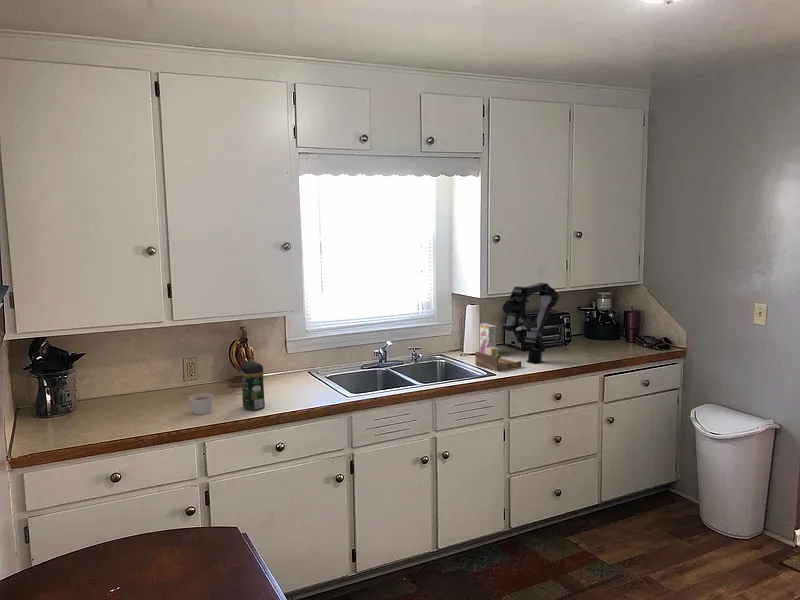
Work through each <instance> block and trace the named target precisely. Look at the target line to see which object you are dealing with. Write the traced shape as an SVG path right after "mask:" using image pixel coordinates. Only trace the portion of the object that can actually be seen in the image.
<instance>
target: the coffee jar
mask: <svg viewBox="0 0 800 600" xmlns="http://www.w3.org/2000/svg"><path fill="white" fill-rule="evenodd" d="M240 374H241V388H242V406H243V407H244V409H245V410H247V411H259V410H261V409H264V408H265V407H266V406H265V403H266V402H265V391H264V389H265V388H264V387H265V385H264V366H263V365H262V364H261V363H258V362H256V361H254V360H249V361H244V362H243V363H242V364H241V369H240Z"/></svg>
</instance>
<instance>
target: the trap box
mask: <svg viewBox="0 0 800 600" xmlns="http://www.w3.org/2000/svg"><path fill="white" fill-rule="evenodd" d="M475 365H477V366H476V367H479V366H480V367H479V368H482V367H483V368H482V369H486V368H487V370H489V369H490V370H489V371H493V370H494V372H496V371H498V372H503V371H502V370H504V371H508V370H507V369H509V370H514V369H518V368H519V367H520V368H522V360H520V361H514V360H510V359H506V358H502V357H501V355H498V357H495V356H491V355H487V354H483V353H480V352H479V351H475ZM513 368H514V369H513Z"/></svg>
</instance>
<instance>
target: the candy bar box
mask: <svg viewBox="0 0 800 600" xmlns="http://www.w3.org/2000/svg"><path fill="white" fill-rule="evenodd" d="M479 324H480V353H483V354H485V348H486V347H495V348H497V326H496V325H493V324H490V323H487V322H486V323H484V322H483V323H479Z"/></svg>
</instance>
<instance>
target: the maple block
mask: <svg viewBox="0 0 800 600" xmlns="http://www.w3.org/2000/svg"><path fill="white" fill-rule="evenodd" d="M485 354H487V355H491V356H495V357H498V356H499V347H496V348H495V347H486V348H485Z"/></svg>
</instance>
